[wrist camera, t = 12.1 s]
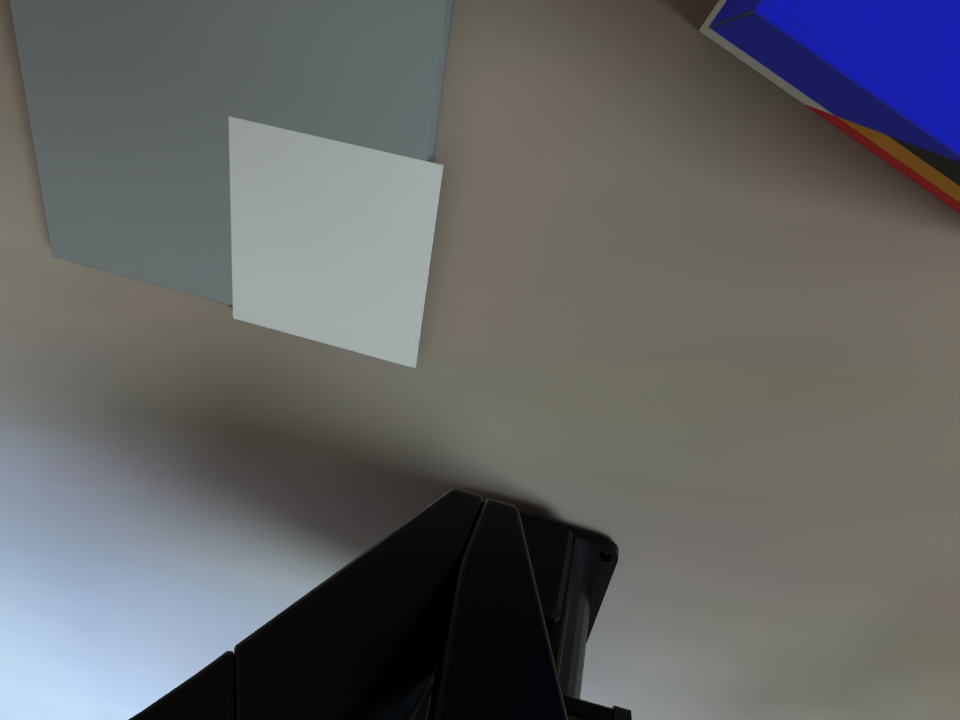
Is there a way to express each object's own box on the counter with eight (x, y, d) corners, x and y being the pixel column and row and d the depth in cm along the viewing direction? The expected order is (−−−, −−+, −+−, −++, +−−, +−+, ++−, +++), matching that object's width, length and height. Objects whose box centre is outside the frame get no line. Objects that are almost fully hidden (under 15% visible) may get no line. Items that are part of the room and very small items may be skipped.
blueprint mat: (420, 360, 22) (414, 368, 22) (67, 264, 24) (54, 269, 24) (523, -377, 14) (518, -394, 13) (-42, -437, 16) (-67, -454, 15)
